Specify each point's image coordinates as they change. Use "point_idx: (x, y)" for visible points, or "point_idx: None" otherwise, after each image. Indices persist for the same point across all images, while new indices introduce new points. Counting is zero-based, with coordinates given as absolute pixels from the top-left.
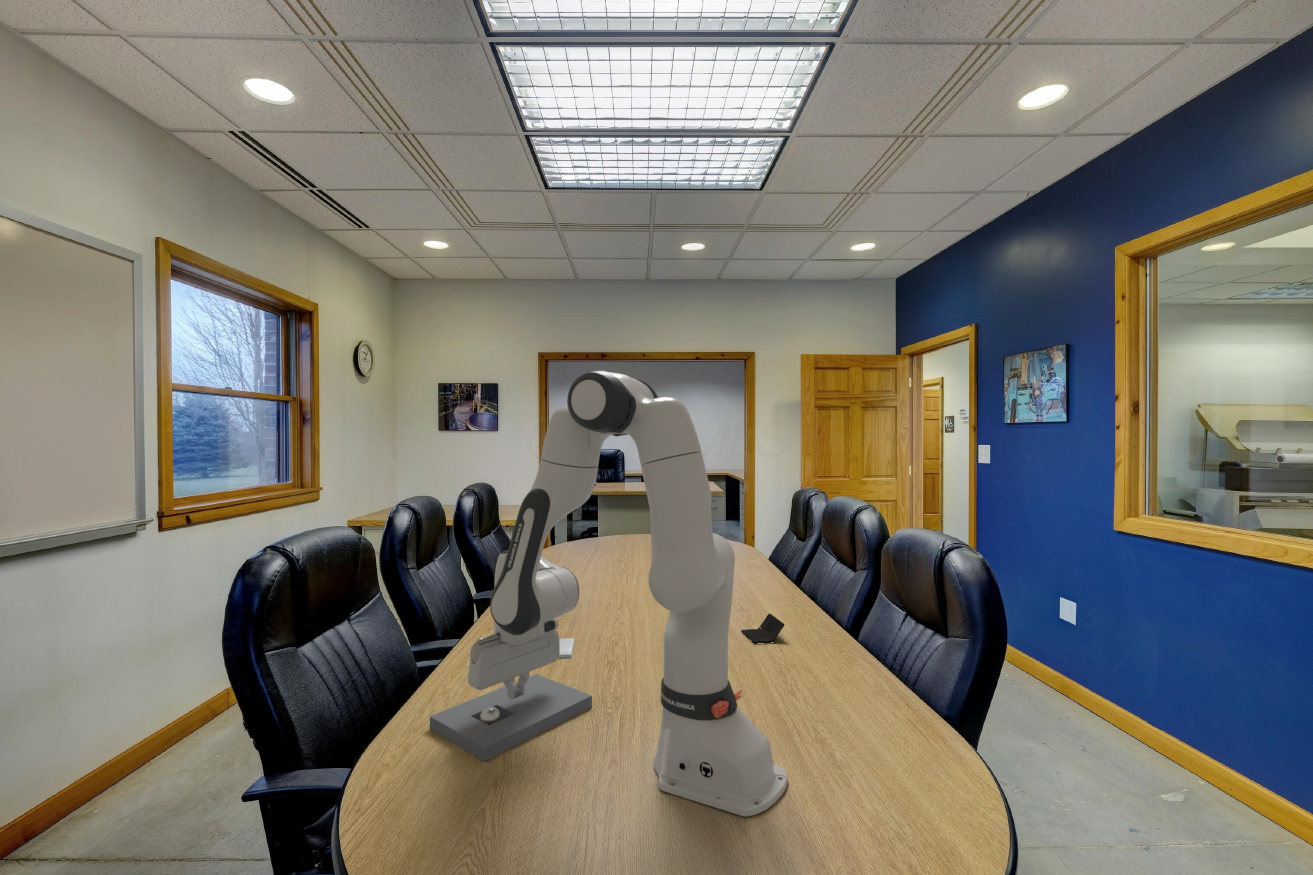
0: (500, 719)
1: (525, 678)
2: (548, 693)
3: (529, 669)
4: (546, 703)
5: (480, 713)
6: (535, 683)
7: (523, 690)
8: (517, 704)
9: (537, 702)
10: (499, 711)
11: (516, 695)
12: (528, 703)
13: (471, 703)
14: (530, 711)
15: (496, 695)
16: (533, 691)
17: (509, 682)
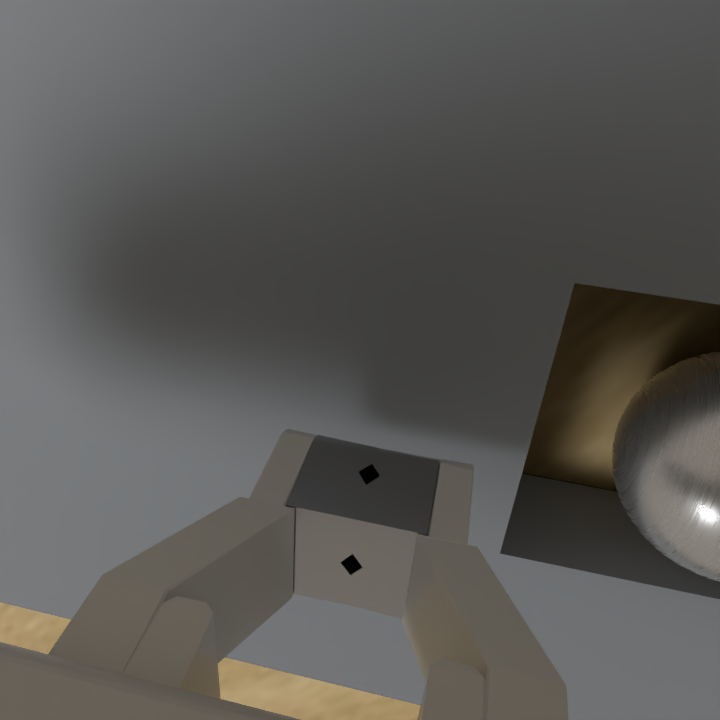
0: (677, 374)
1: (184, 587)
2: (2, 293)
3: (38, 706)
4: (147, 135)
5: (694, 580)
6: (5, 509)
7: (285, 464)
8: (381, 403)
9: (209, 250)
10: (665, 448)
11: (412, 467)
12: (290, 322)
13: (589, 709)
14: (429, 153)
15: (364, 634)
16: (96, 440)
17: (552, 715)
